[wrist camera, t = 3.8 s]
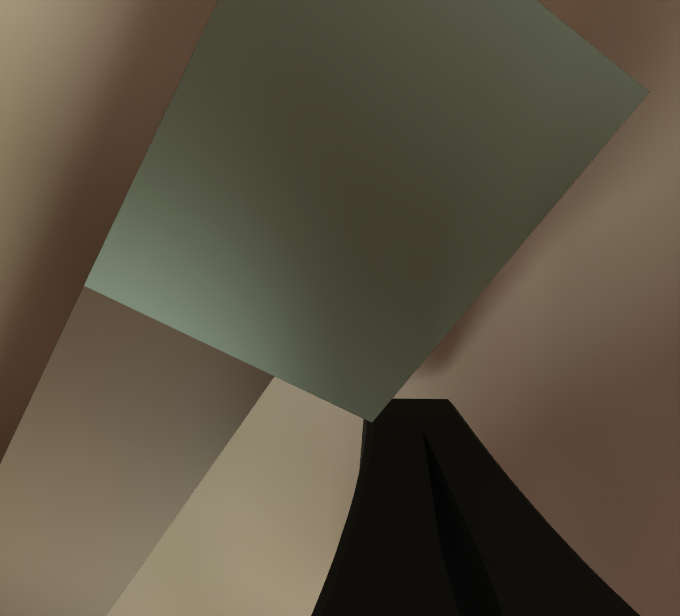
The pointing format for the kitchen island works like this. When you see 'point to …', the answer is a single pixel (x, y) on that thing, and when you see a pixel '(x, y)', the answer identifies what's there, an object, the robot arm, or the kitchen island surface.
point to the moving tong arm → (289, 253)
